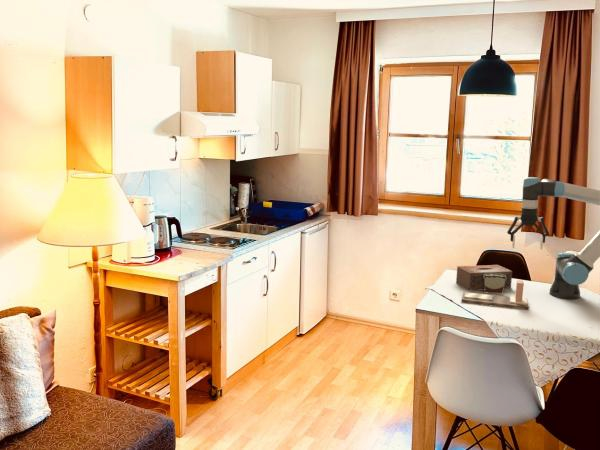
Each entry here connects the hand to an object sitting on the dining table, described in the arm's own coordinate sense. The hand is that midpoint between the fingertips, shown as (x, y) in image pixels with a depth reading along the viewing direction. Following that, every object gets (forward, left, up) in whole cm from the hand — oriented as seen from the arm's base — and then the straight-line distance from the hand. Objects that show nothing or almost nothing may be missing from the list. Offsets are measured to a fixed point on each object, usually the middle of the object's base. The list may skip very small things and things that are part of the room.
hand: (527, 248), depth 311 cm
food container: (+15, -7, -27) cm, 32 cm away
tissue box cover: (+20, -17, -27) cm, 38 cm away
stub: (+3, +13, -25) cm, 28 cm away
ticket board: (+14, +13, -27) cm, 33 cm away
